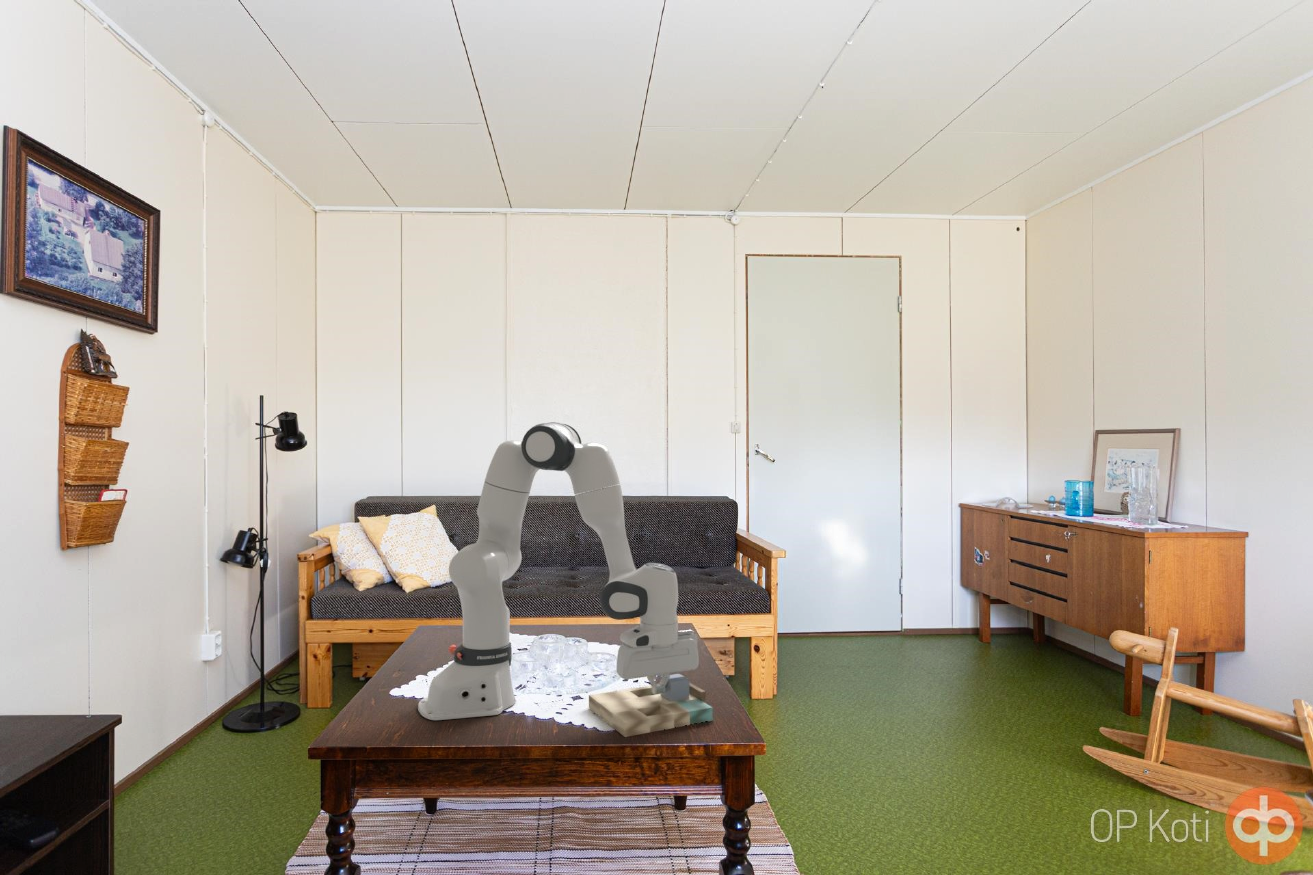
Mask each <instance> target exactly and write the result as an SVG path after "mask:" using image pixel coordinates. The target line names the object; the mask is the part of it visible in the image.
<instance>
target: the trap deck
mask: <svg viewBox="0 0 1313 875" xmlns="http://www.w3.org/2000/svg"><path fill="white" fill-rule="evenodd" d="M651 690H652V685H646V686H645V685H644V686H640V687H632V688H627V689H620V690H613V691H608V692H601V693H594V694H590V695H588V709H589V708H590V710H591V711H592V710H593V711H594V712H595V713H594V712H593V711H592V712H593V713H594V714H595V715H597V714H598V715H599V716H600V717H599V716H598V715H597V716H598V717H599V718H601V719H602V720H603V719H604V720H605V723H607V724H608V723H609V724H608V725H609V726H610V727H612V728H613V729H614V730H616V731H617V732H618V733H620V734H621V735H622V736H623V737H625V738H628V737H633V736H638V735H644V734H648V733H655V732H659V731H664V729H665V730H670V729H675V727H676V728H681V727H685V725H687V726H691V725H690V724H692V725H695V724H694V723H697V724H702V723H701V722H703V723H706V722H705V721H708V722H712V721H713V720H714V719H713V712H714V711H713V710H714V708H713V706H711V705H709V704H708V703H707V700H706V699H707V698H706V695H707V694H706V693H707V692H706V690H704V689H702V688H701V687H698V686H697V685H695V684H693V683H691V682H689V699H684V700H678V701H672V702H670V701H669V700H667V699H666V698H664V697H662V696H661V693H658V694H653V693H652V691H651ZM604 720H603V721H604Z"/></svg>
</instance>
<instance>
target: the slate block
mask: <svg viewBox="0 0 1313 875" xmlns="http://www.w3.org/2000/svg"><path fill="white" fill-rule="evenodd" d="M661 678H662V676H661V675H660V679H661ZM689 682H690V679H689V678H688V677H686V676H685V675H682V674H680V673H674V674H673V673H672V674H670V678H669V680H668V682H667V684H666V685H665V693H661V696H662V697H664V698H666V699H667V700H669V701H670V702H672V701H678V700H684V699H689ZM690 683H691V682H690Z"/></svg>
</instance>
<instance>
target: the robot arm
mask: <svg viewBox="0 0 1313 875" xmlns="http://www.w3.org/2000/svg"><path fill="white" fill-rule="evenodd" d="M576 430H577V429H575V428H573V427H572V426H570V425H569V424H566V423H560V422H556V421H555V422H554V421H553V422H552V421H551V422H547V423H545V422H544V423H538V424H535V425H533V426H531V428H530V429H527V431H526V433H525V434H524V436H523V438H522V441H520V440H507V441H504V442H502V443H500V444H499V445H498V446H497V448H496V450H495V452H494V454H493V456H492V459H491V461H490V464H489V466H488V469H487V473H486V476H485V479H484V483H483V486H482V490H481V494H480V498H479V503H478V505H477V509H476V514H477V517H478V522H479V523H478V524H479V525H478V537H477V540H476V542H475V543H472V544H468V545H466V546H464V547H462V548H461V549H460V550H459V551H458V552H457V553H455V554H454V556H453V557H452V559H451V561H450V563H449V565H448V574H449V578H450V580H451V582H452V583H453V585H454V587H456V589H457V592H458V597H459V601H460V605H461V611H462V613H461V614H462V643H461V644H460V645H459V646H458V647H457V646H456V645H455V644H451V645H449V647H448V652H449V653H450V654H451V655H452V656H453V662H451V663H450V664H449V665H448V666H447V667H445V669H443V670H442V671H441V672H440V673H438V674H437V675H436V676H434V677H433V679H432V680H431V682H430V685H429V688H428V692H427V694H428V695H427V697H424V698H422V699H420V700H419V702H418V705H417V710H418V712H419V714H420V715H421V716H422V717H424V718H425V719H427V720H431V721H442V720H444V721H445V720H453V719H456V720H457V719H466V718H476V717H477V718H479V717H486V716H496V715H499V714H501V713H503V711H504V710H506V709H508V708H510V707H512V706H513V705H514V704H515V703H516V697H515V693H514V690H513V684H512V675H511V665H512V657H513V656H512V655H513V652H512V643H511V641H510V634H511V633H510V628H511V627H510V621H511V620H510V619H511V618H510V617H511V613H510V612H511V611H510V609H509V607H508V606H507V603H506V601H505V600H506V599H505V597H504V592H503V582H504V581H507V580H508V579H510V578H511V577H512V576H514V574H515V573H516V572H517V571H518V570H519V568H520V566H521V564H522V560H523V559H522V551H521V541H522V540H521V537H522V527H523V521H524V516H525V512H526V509H527V505H528V501H529V496H530V493H531V489H532V485H533V482H534V478H535V476H536V475H537V472H538V471H540V470H543V471H554V472H555V471H557V472H565V473H567V475H568V477H569V479H570V481H571V485H572V490H573V493H574V498H575V503H576V507H577V509H578V511H579V514H580V517H581V518H582V519H581V520H583V522H584V523H585V524H586V525H587V526H589V527H590V528H591V529H592V530H593V531H594V532H595V533H596V534H597V535H598V537H599V538H600V540H601V543H602V548H603V550H604V555H605V558H606V562H607V565H608V569H609V570H608V571H609V578H608V582H607V583H606V584H605V585H604V587H603V588H602V590H601V592H600V595H599V603H600V604H599V605H600V608H601V610H602V612H604V614H605V615H606V616H607V617H609V618H610V619H612V620H613V619H614V620H617V621H622V620H631V619H635V618H636V619H638V618H639V624H637V625H635V626H633V627H631V628H629V629H627V630H625V631H623V632H621V634H620V641H621V642H622V644H620V645H619V647H618V651H617V657H616V673H617V675H618V676H619V677H620V678H622V679H623V680H633V679H638V678H639V679H640V678H646V677H647V678H646V679H647V680H648V682H649V684H650V686H652V690H651V691H652V693H653V694H658V693H665V685H666V684H667V682H668V680H669V678H670V675H671V674H673V673H674V674H675V673H680V672H686V671H687V672H688V671H694V670H697V669H698V667H699V664H700V663H699V662H700V661H699V660H700V659H699V657H700V656H699V649H698V639H699V638H698V634H697V633H696V631H694V630H692V629H686V630H679V618H678V615H677V614H678V613H677V608H678V605H679V584H678V583H679V582H678V577H677V573H676V571H675V570H674V569H673V567H670V566H669V565H667V564H665V563H664V564H663V563H659V562H647V563H644V564H643V565H642V566H641V567H639V568H638V567H637V566H636V564H635V561H634V558H633V555H632V550H631V546H630V543H629V539H628V535H627V531H626V522H625V509H624V498H623V491H622V487H621V483H620V479H619V475H618V471H617V469H616V466H615V463H614V459H613V458H612V455H611V453H610V451H609V450H608V448H607V447H606V446H605V445H603V444H602V443H597V442H588V443H582V439H581V436H580V434H579V433H578V432H577V431H576ZM658 676H660V680H659V683H657V682H656V680H657V677H658ZM661 676H662V678H661Z"/></svg>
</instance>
